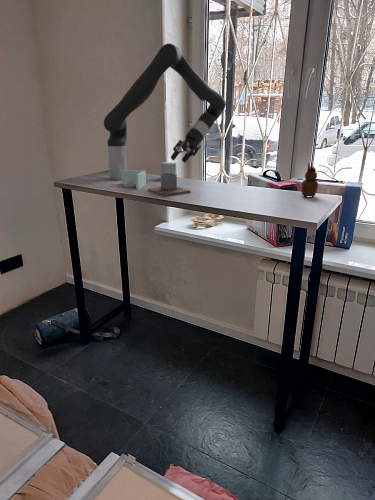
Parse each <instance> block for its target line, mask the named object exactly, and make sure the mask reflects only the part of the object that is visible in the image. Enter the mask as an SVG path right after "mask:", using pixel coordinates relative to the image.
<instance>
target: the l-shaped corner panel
mask: <svg viewBox="0 0 375 500" xmlns="http://www.w3.org/2000/svg"><path fill="white" fill-rule="evenodd" d="M146 173H147V172H146V170H135V169H133V170H132V169H127V170H122V180H121V182H122V187H123V188H129V187H130V188H135V189H136V190H138V191H139V190H140V189H142V188H144V187H145V186H146V185H147V179H146V178H147V176H146V175H147V174H146Z"/></svg>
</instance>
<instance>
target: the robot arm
mask: <svg viewBox="0 0 375 500" xmlns="http://www.w3.org/2000/svg"><path fill="white" fill-rule="evenodd" d="M169 68H171V69H173V71H175V72H176V73H177V74H178V75H179V76H180V77H181V78H182V79H183V80H184V82H185V83H186V85H187V86H188V87H189V89H190V91H192V92H193V93H194V95H196V97H197V98H198V99H199V100H200V101H201V102H205V101H206V102H207V103H208V104H209V105H208V107H207V108H206V109H205V111H204V112H203V113H202V114H201V115H200V116H199V117H198V119H197V120H196V121H195V122H194V124H193V125H192V126H191V128H189V130H188V131H187V133H186V134H185V139H184V140H183V141H182V139H179V140H178V142H177V143H176V144H175V145H174V147H173V148H172V150H173V153H172V154H171V156H170V159H171V160H172V161H175V160H176V159H177V157H178V156H179V154H181V153H185V152H186V153H185V154H184V155H183V157H182V158H181V161H182V162H183V163H184V164H186V163H187V161H188V160H189V158H190V157H195V156H196V155H197V153H199V152H198V151H199V150H200V149H201V143H202V142H203V140H204V138H205V137H206V136H207V134H208V133H209V131H210V130H211V128H212V127H213V125H214V124H215V122H216V121H217V120H218V119H219V118H220V117H221V115H222V114H223V112H224V110H225V108H226V105H227V101H226V100H225V98H224V97H223V96H222V95H221V93H219V92H218V91H216V90H214V89H213V88H211V86H209V84H208V83H207V82H206V81H205V80H204V79H203V78H202V77H201V76H200V75H199V73H197V72H196V71H195V70H194V69H193V67H192V66H191V65H190V63H189V62H188V60H187V59H186V57H184V55H183V53H182V52H181V50H180V48H179V47H178V46H176V45H174V44H173V43H165V44H164V45H162V46H161V47H160V48H159V50H158V52H157V53H156V55H155V56H154V57H153V59H152V61H151V62H150V64H149V65H148V66H147V68H145V70H143V72H142V73H141V74H140V75H139V76H138V78H137V79H136V80H135V81H134V82H133V83H132V84H131V86H130V88H129V89H128V90H127V92H126V93H125V94H124V95H123V97H122V99H121V100H119V102H118V103H117V104H116V105H115V106H114V108H112V109H111V111H109V113H107V114H106V116H105V117H104V120H103V126H104V129H105V130H106V131H108V132H109V137H108V139H107V156H108V161H107V162H108V176H109V179H110V180H113V181H122V170H128V167H127V151H126V150H127V148H126V147H127V146H126V145H127V144H126V142H127V136H128V135H127V133H128V132H127V130H128V129H127V128H128V127H127V120H126V119H127V118H128V117H129V116H130V115H131V113H133V112H134V111H135V110H137V109H138V108H139V107H141V106H142V105H143V104H144V103H145V102H146V101H147V100H148V99H149V98H150V97H151V95H152V94H153V92H154V91H155V89H156V86H157V84H158V83H159V80H160V78H161V77H162V76H163V74H164V73H165V72H166V71H167V70H168V69H169Z"/></svg>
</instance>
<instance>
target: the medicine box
mask: <svg viewBox="0 0 375 500" xmlns="http://www.w3.org/2000/svg"><path fill="white" fill-rule="evenodd" d="M177 168H178V167H177V162H169V161H167V162H165V161H164V162H161V163H160V172H161V173H160V175H161V174H167V173H172V174H176V175H177ZM177 176H178V175H177Z"/></svg>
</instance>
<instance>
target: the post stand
mask: <svg viewBox="0 0 375 500" xmlns="http://www.w3.org/2000/svg"><path fill="white" fill-rule="evenodd" d="M168 175H170V174H168ZM147 191H148V192H149V193H153V194H156V195H159V196H162V197H171V196H177V195H184V194H185V195H186V194H191V189H190V190H189V189H188V188H187V189H186V188H182V187H178V186H177V190H174V191H165V190H161V186H160V187H159V186H158V187H152V188H148V189H147Z"/></svg>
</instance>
